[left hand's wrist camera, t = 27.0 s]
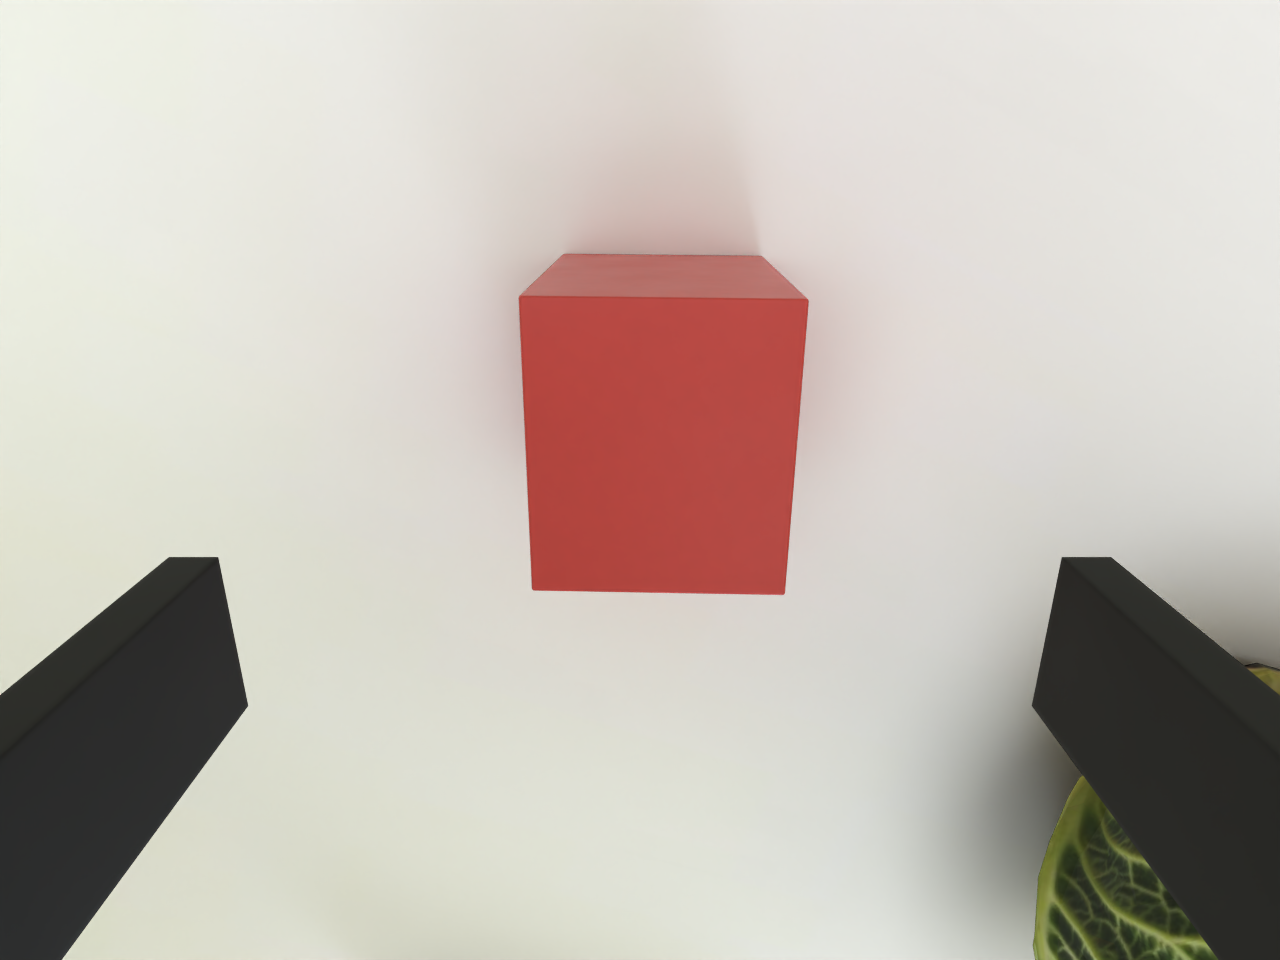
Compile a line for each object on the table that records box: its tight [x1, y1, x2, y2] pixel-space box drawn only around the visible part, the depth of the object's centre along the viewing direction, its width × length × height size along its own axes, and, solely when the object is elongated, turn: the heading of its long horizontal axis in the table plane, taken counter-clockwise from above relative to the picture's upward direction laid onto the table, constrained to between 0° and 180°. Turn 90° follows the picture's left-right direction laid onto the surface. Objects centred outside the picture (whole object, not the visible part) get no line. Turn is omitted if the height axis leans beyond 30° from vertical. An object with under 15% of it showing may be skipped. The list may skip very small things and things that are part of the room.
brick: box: [519, 254, 809, 595], centre depth 24 cm, size 8×7×9 cm
